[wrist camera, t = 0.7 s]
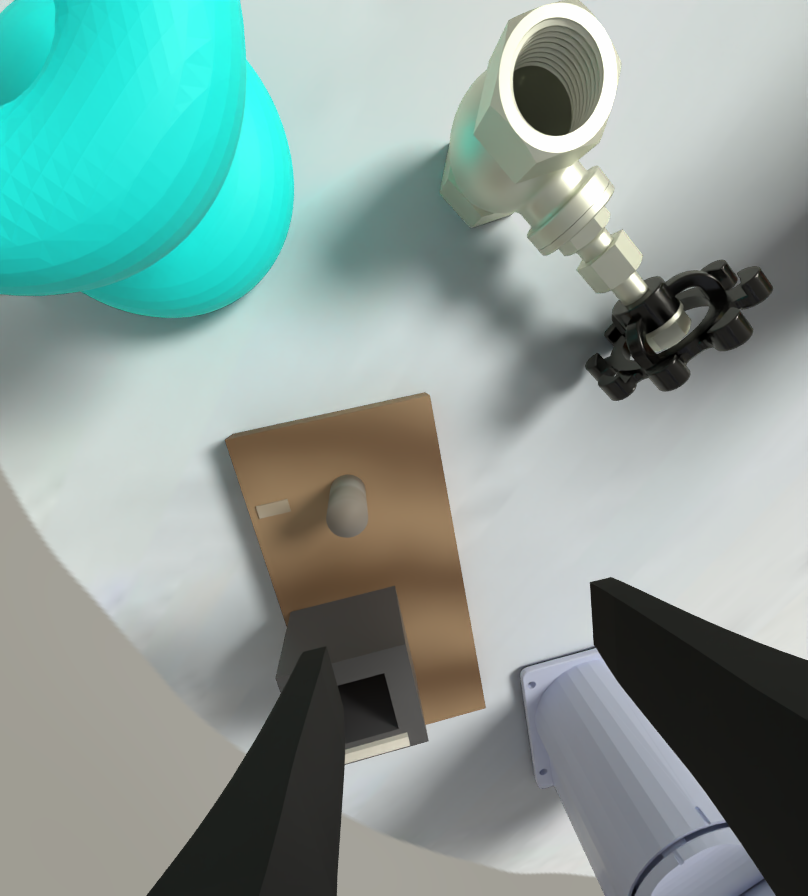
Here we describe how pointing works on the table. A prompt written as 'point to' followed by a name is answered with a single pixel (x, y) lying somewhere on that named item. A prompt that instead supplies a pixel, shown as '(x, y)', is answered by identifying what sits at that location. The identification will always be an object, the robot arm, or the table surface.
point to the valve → (582, 194)
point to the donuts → (137, 155)
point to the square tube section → (363, 669)
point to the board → (366, 530)
